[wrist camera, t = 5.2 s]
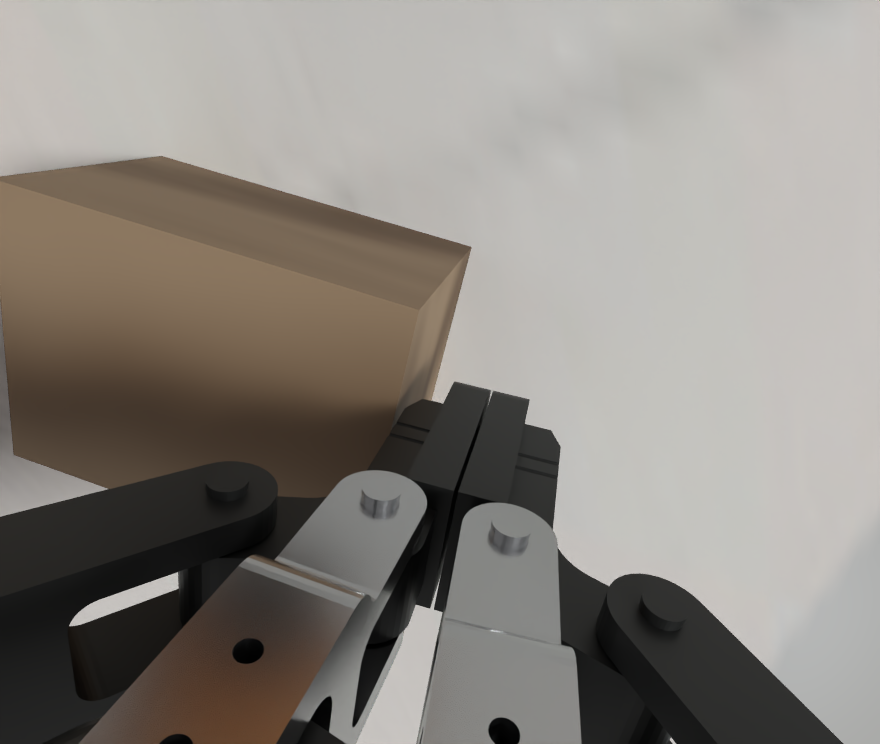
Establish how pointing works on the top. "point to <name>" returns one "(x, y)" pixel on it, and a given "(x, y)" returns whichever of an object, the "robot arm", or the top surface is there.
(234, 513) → the robot arm
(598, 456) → the top surface
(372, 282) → the walnut block
